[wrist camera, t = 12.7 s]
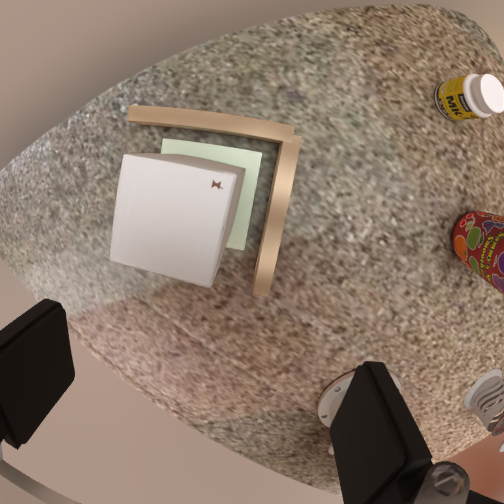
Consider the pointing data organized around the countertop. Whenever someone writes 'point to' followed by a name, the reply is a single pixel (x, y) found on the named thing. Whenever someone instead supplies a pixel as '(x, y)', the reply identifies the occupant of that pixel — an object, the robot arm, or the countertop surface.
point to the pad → (232, 157)
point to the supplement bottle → (470, 97)
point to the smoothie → (482, 245)
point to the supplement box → (175, 214)
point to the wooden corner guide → (247, 129)
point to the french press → (488, 401)
